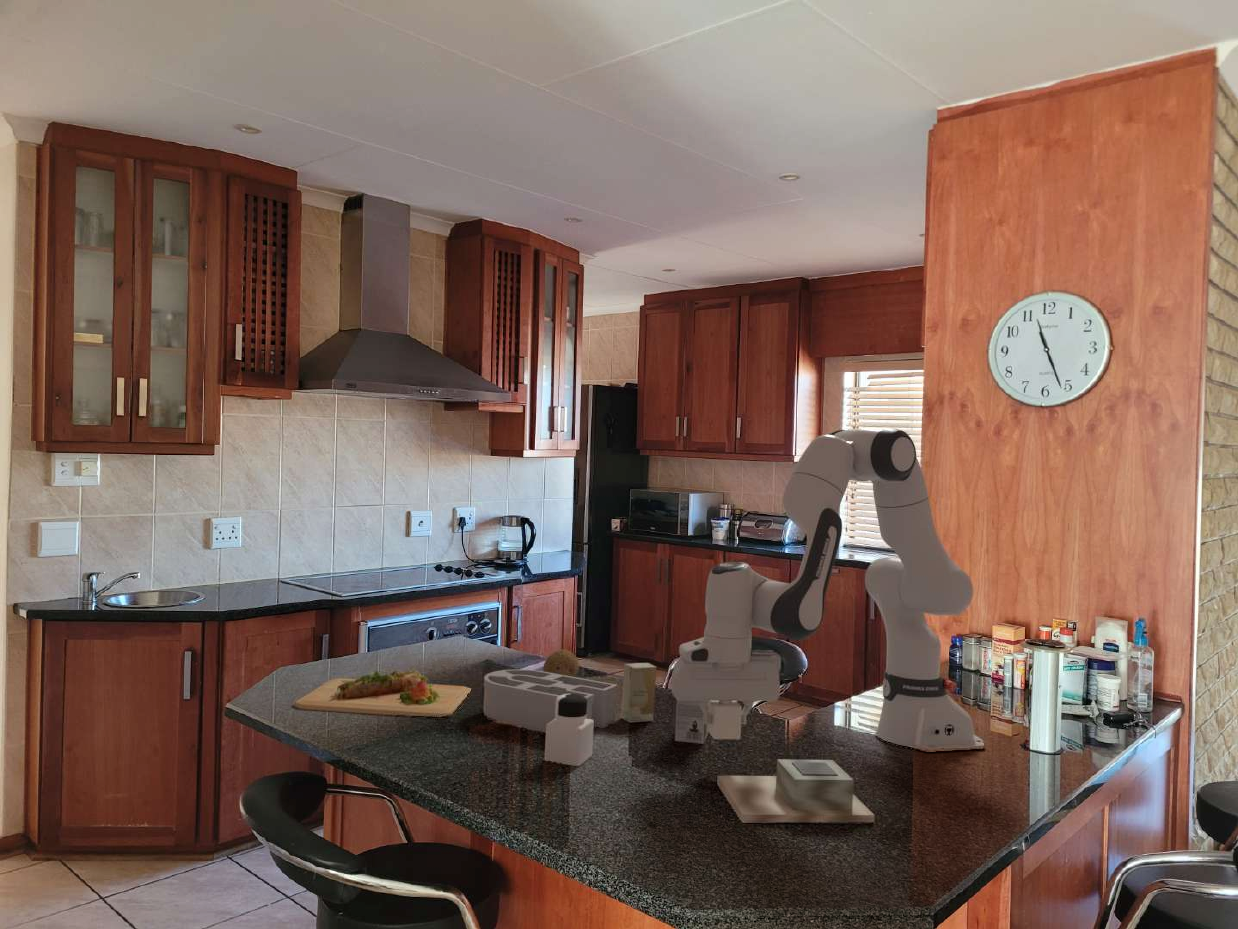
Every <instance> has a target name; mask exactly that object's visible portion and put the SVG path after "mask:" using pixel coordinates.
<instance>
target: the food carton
mask: <svg viewBox="0 0 1238 929" xmlns="http://www.w3.org/2000/svg"><path fill="white" fill-rule="evenodd" d="M704 707H705V709H706V711H707V713H709V701H707V706H704ZM675 708H676V709H675V711H676V712H675V729H674V731H675V732H674V741H675V742H682V743H692V744H699V745H700V744H701V745H704V744H705V742H706V740H707V738H708V735H709V734H710V733H709V732H708V724H704V723H703V712H702V710H701V709H700V707H699V705H698V700H677V699H676V706H675Z"/></svg>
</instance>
